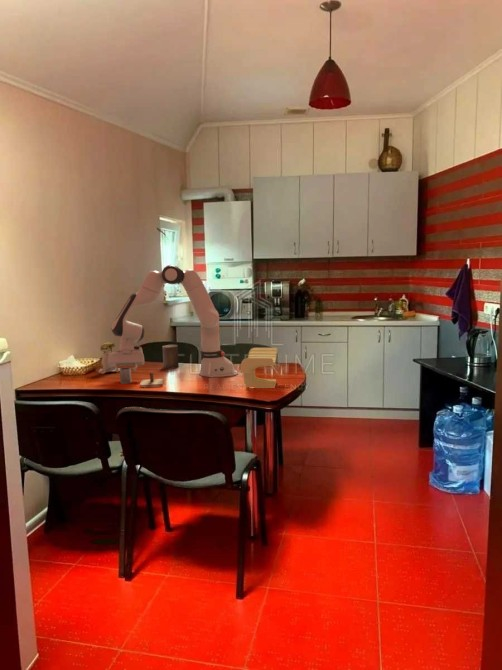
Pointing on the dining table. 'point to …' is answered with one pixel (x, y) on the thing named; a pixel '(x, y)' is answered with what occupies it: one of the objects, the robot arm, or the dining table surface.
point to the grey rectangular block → (125, 375)
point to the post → (152, 382)
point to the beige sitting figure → (106, 357)
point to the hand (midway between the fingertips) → (125, 371)
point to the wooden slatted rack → (255, 360)
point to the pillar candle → (170, 356)
